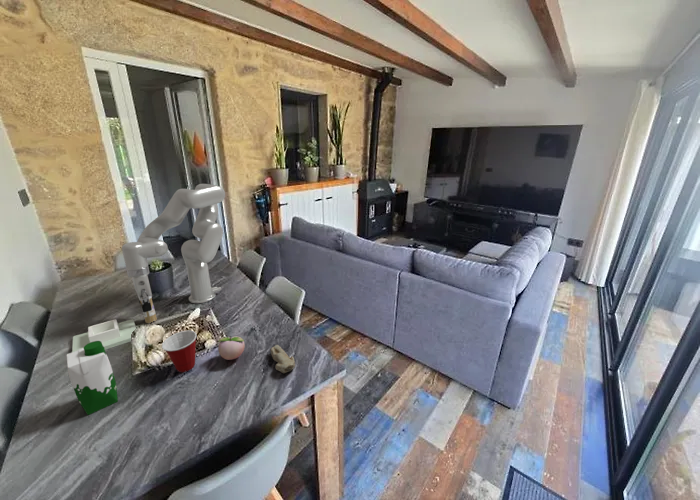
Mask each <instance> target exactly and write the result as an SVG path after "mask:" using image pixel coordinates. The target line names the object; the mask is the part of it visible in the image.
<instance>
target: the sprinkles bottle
mask: <svg viewBox="0 0 700 500" xmlns="http://www.w3.org/2000/svg"><path fill="white" fill-rule="evenodd" d="M141 297H143V296H141ZM148 297H149V301H150V303H151V308H152V310H151V311H148V312H143V310H142V309H141V310H142V314H143V317H144V320H145V321H144V322H145V324H152V323H154V322H153V321H155V322H156V321H157V320H158V318H157V314H156V310H155V306H154V303H153V302H154V301H153V300H152V299H153V298H152V297H153V295H152V296H148ZM139 300H140V302H141V299H139V298H138V301H139ZM143 300H144V299H143ZM140 302H139V303H140ZM141 304H142V302H141ZM141 304H140V305H141ZM140 308H142V306H141V307H140ZM151 322H152V323H151Z"/></svg>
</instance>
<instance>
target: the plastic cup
mask: <svg viewBox="0 0 700 500" xmlns="http://www.w3.org/2000/svg"><path fill="white" fill-rule="evenodd" d="M196 339H197V332H195V331H194V330H190V329H189V330H182V331H179V332H175V333H174V334H171V335H170V336H168V337H166V339H164V341H163V342H162V344H161V349H162V350H163V351H165V352H166V353H167V354H168V357H169V358H170V361H171V362H172V364H173V365H174V367H175V369H176V371H177V372H179V373H185V372H189V371H190V370H192V369H193V368H195V365H196V345H197V342H196V341H197V340H196Z"/></svg>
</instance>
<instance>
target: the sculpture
mask: <svg viewBox="0 0 700 500" xmlns="http://www.w3.org/2000/svg"><path fill="white" fill-rule="evenodd" d="M270 355H271V357H272V359H273V361H275V362H277V363H276V364H275V369H276V371H278V372H280V373H282V374H286V373H288V372H291V371H292V370H294V368H295V367H296V361H295V358H294V356H292V355H291V357H290V356H289V355H288V354H287V353H286V351H285V350H284V349H283V348H282V347H281V346H280V345H279V344H275V345H274V346H273V347H271V348H270Z"/></svg>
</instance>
